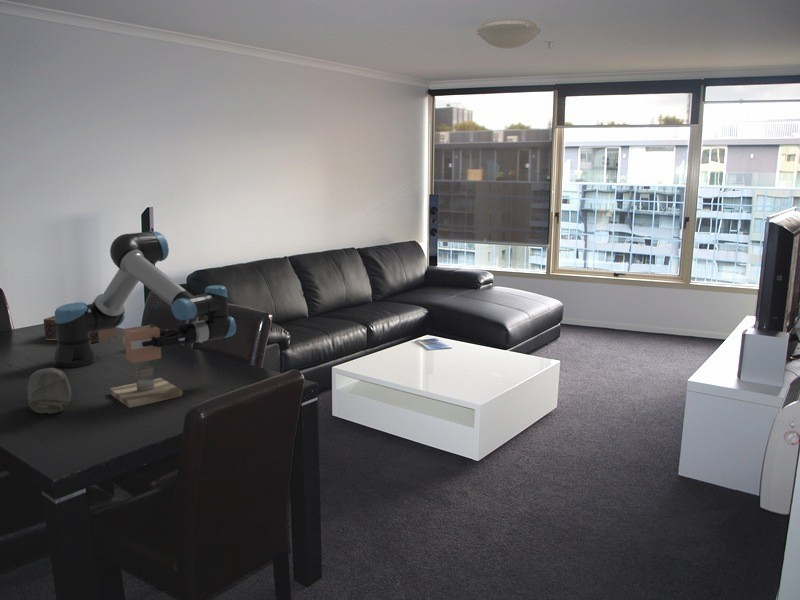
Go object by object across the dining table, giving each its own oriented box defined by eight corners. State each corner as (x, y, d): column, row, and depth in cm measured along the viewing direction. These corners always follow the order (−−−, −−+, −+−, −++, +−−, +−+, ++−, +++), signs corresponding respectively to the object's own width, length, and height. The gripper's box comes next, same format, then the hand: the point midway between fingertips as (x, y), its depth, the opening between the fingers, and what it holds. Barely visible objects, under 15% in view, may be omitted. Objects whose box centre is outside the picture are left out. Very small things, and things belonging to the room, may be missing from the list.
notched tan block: (126, 358, 222) (123, 327, 220) (153, 353, 228) (151, 323, 226) (133, 363, 217) (131, 330, 215) (161, 358, 223) (159, 326, 221)
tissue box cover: (45, 341, 296) (43, 319, 294) (65, 333, 310) (63, 312, 308) (99, 343, 293) (97, 321, 291) (116, 335, 307) (115, 314, 305)
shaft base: (110, 393, 226) (107, 367, 224) (161, 383, 238) (159, 357, 236) (129, 408, 213) (127, 380, 211) (182, 395, 225) (180, 369, 223)
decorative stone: (72, 398, 222) (68, 355, 219) (72, 415, 206) (67, 369, 203) (32, 403, 216) (27, 359, 213) (28, 421, 201) (23, 374, 198)
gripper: (206, 348, 227) (139, 360, 212) (181, 337, 241) (117, 348, 226) (205, 327, 225) (137, 338, 210) (180, 317, 240) (116, 327, 225)
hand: (127, 343), depth 218 cm, fingers closed on notched tan block, 7 cm apart
